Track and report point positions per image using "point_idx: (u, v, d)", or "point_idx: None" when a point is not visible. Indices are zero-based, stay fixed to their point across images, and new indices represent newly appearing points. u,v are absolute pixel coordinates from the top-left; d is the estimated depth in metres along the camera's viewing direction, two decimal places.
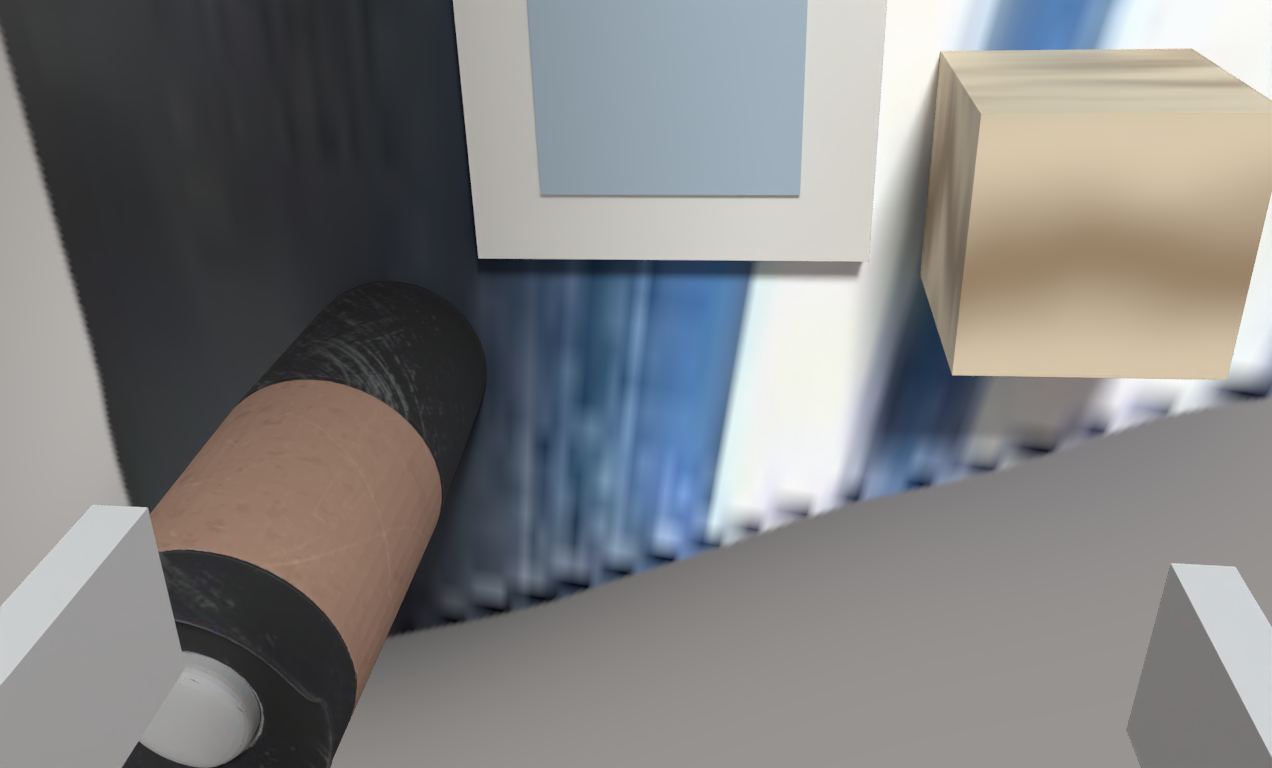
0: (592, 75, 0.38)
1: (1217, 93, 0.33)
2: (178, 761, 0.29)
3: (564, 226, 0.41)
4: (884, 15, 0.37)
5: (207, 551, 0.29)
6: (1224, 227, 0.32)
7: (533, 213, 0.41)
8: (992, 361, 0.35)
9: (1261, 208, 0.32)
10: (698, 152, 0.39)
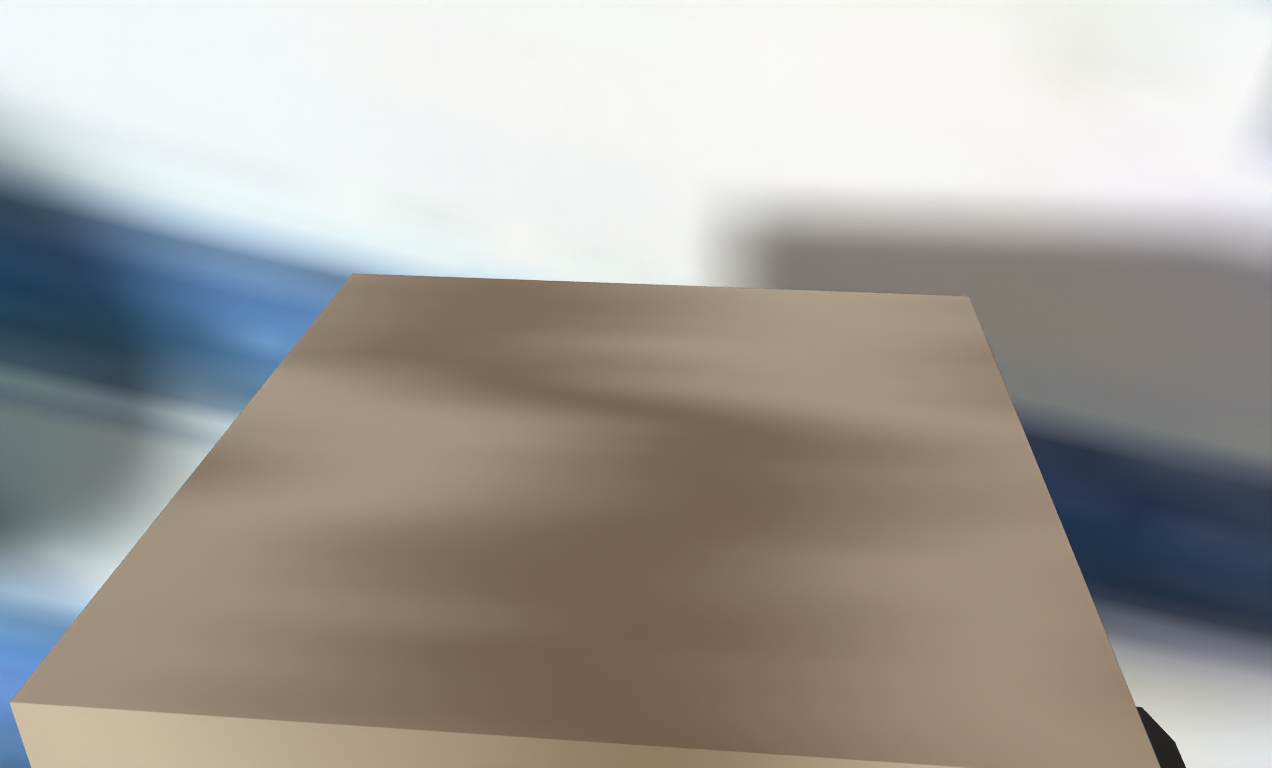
0: None
1: None
2: None
3: None
4: None
5: None
6: None
7: None
8: None
9: (378, 739, 0.08)
10: None
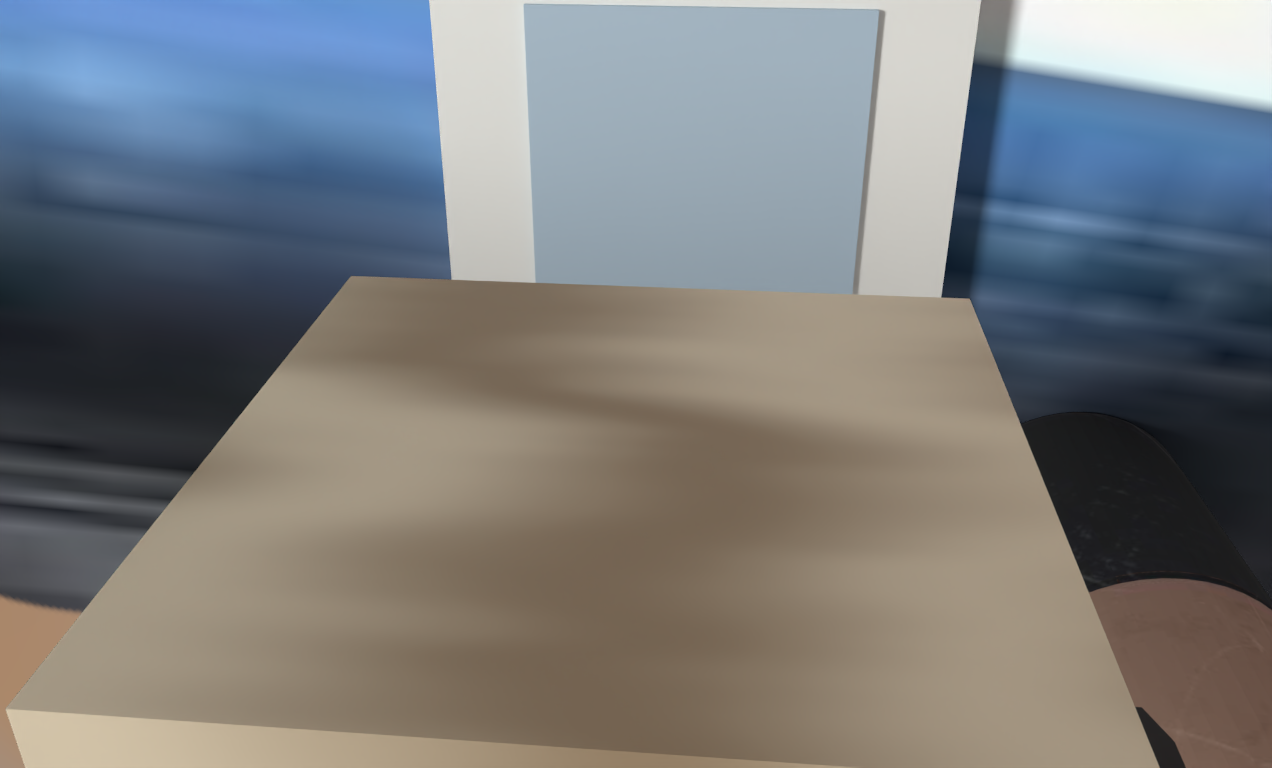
0: (706, 265, 0.33)
1: None
2: None
3: None
4: None
5: None
6: None
7: None
8: None
9: (376, 747, 0.08)
10: (808, 145, 0.31)
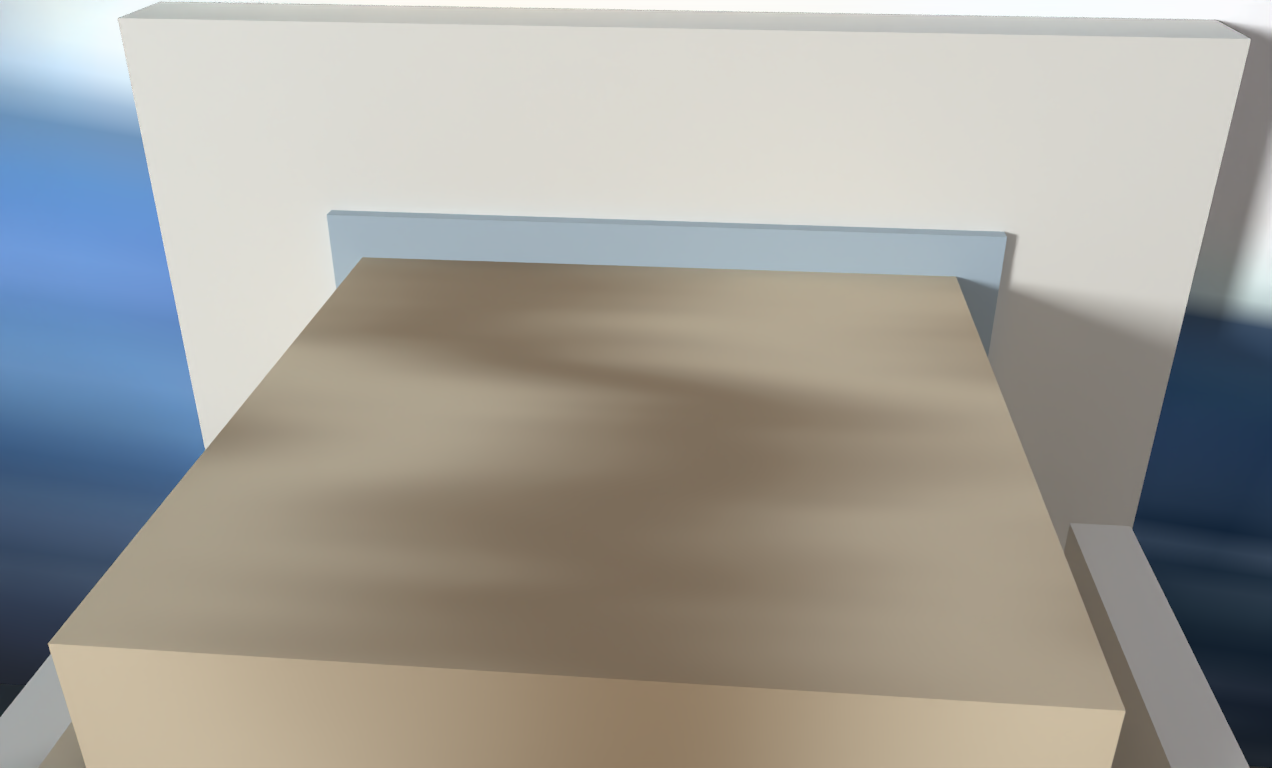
0: None
1: None
2: None
3: None
4: (550, 29, 0.14)
5: None
6: None
7: None
8: None
9: (391, 677, 0.09)
10: None
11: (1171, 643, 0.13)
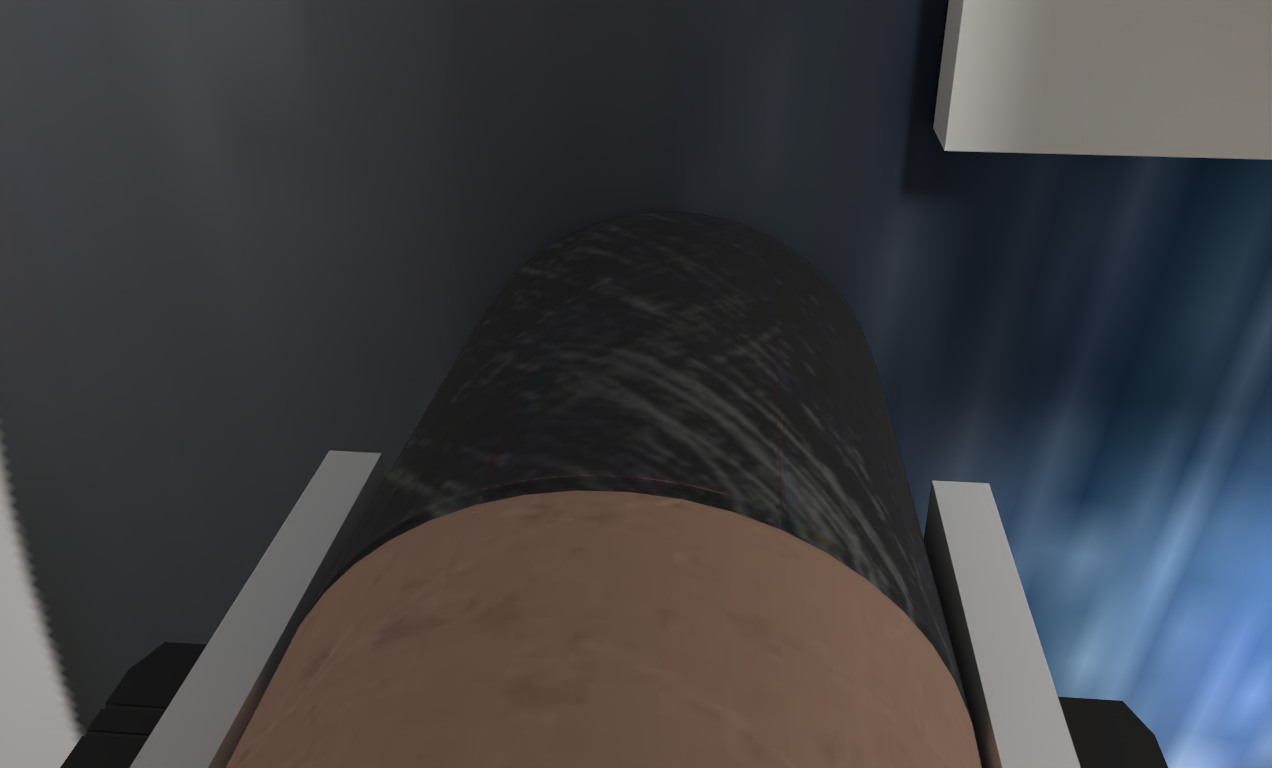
0: None
1: None
2: None
3: (1199, 67, 0.16)
4: None
5: None
6: None
7: (1122, 29, 0.16)
8: None
9: None
10: None
11: (1006, 586, 0.14)
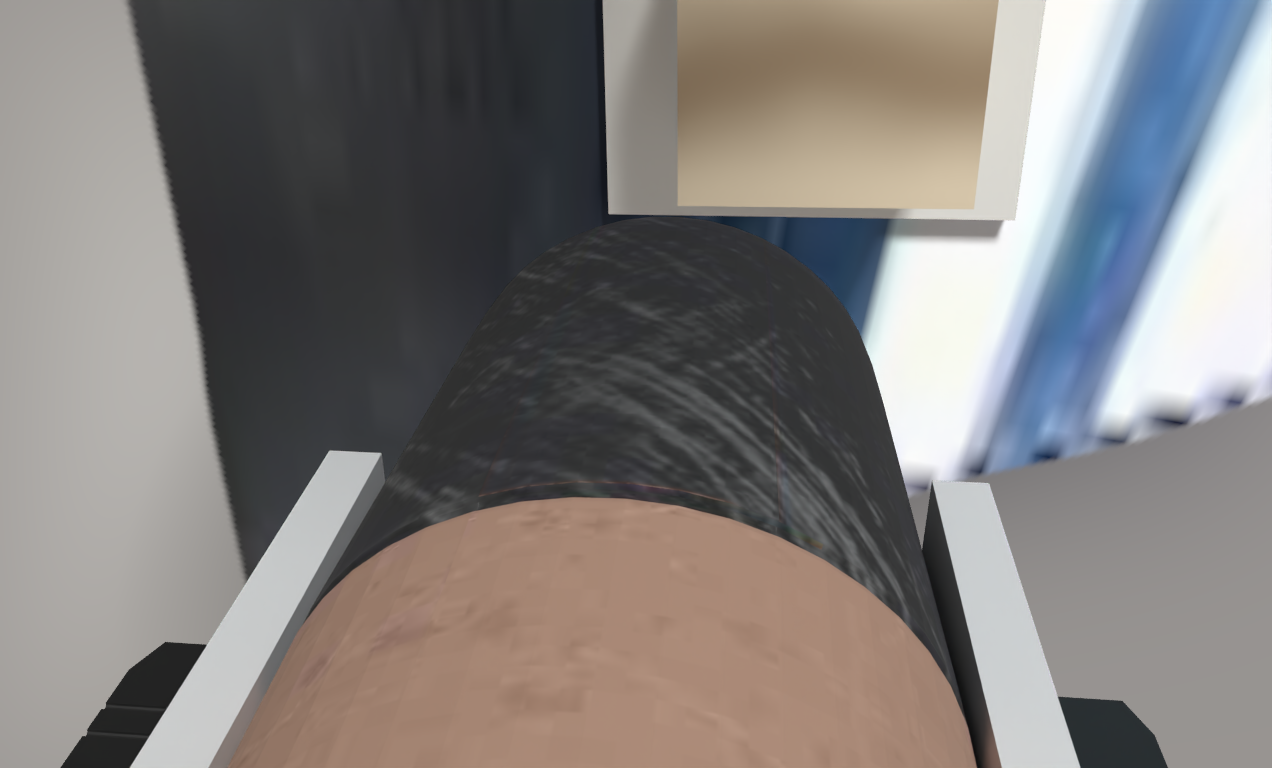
0: None
1: None
2: None
3: None
4: None
5: None
6: (954, 27, 0.29)
7: (668, 167, 0.40)
8: (719, 189, 0.32)
9: (992, 3, 0.29)
10: None
11: (1005, 586, 0.14)
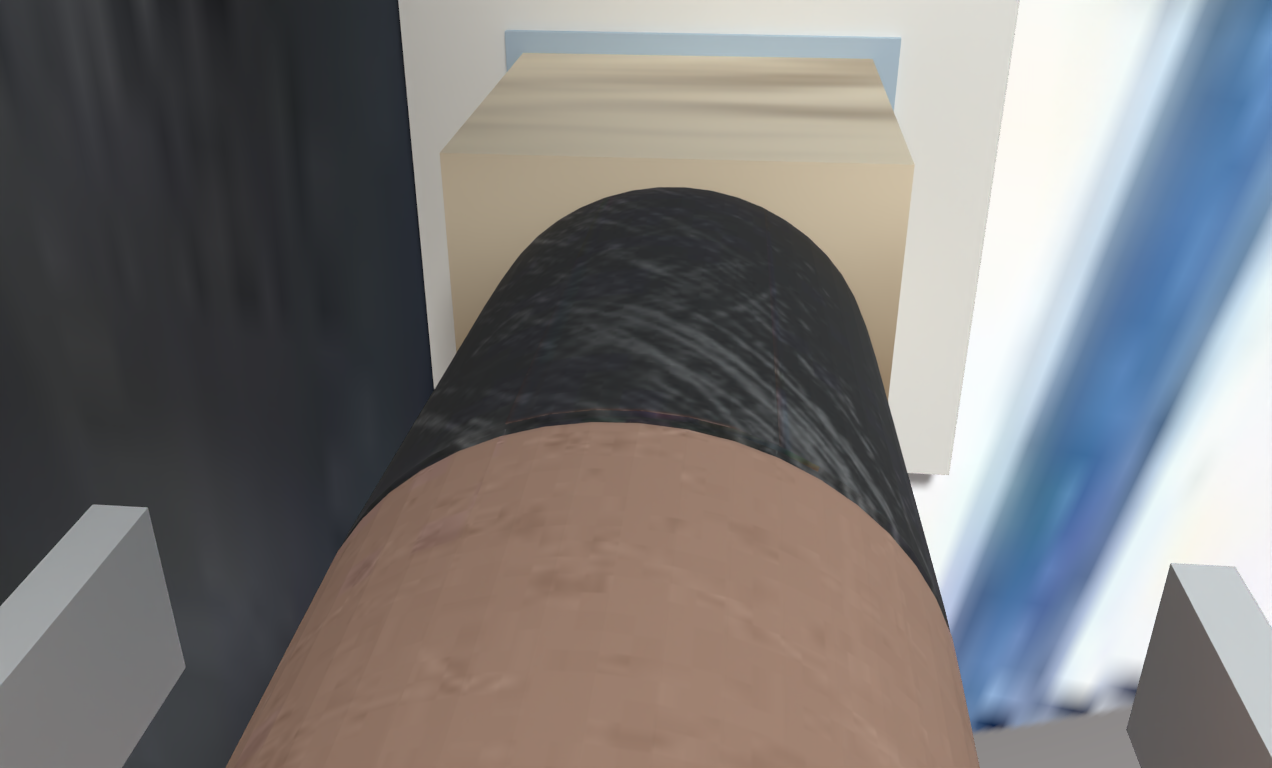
0: None
1: (836, 128, 0.21)
2: None
3: None
4: (991, 173, 0.27)
5: None
6: None
7: None
8: None
9: (889, 311, 0.20)
10: None
11: None
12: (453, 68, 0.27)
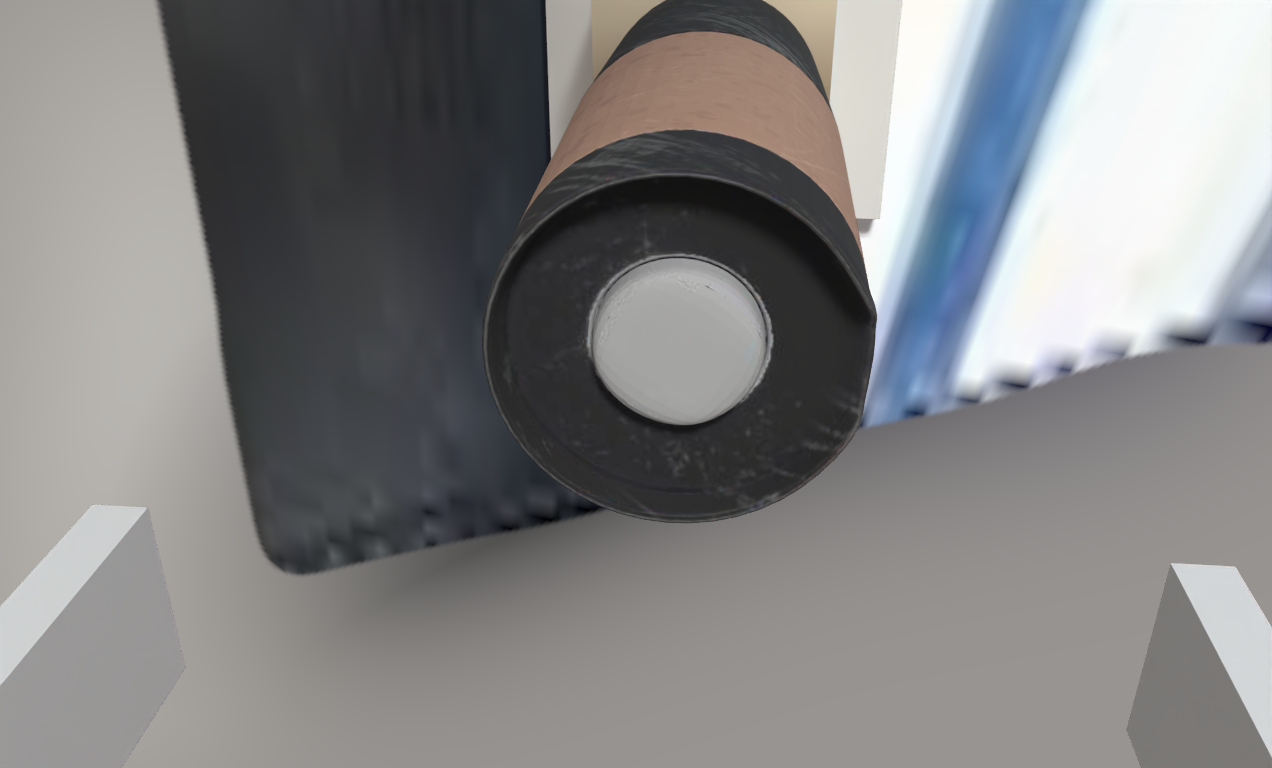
0: None
1: None
2: (653, 414, 0.23)
3: None
4: (899, 14, 0.45)
5: (712, 131, 0.22)
6: None
7: None
8: None
9: (828, 59, 0.38)
10: None
11: None
12: None
